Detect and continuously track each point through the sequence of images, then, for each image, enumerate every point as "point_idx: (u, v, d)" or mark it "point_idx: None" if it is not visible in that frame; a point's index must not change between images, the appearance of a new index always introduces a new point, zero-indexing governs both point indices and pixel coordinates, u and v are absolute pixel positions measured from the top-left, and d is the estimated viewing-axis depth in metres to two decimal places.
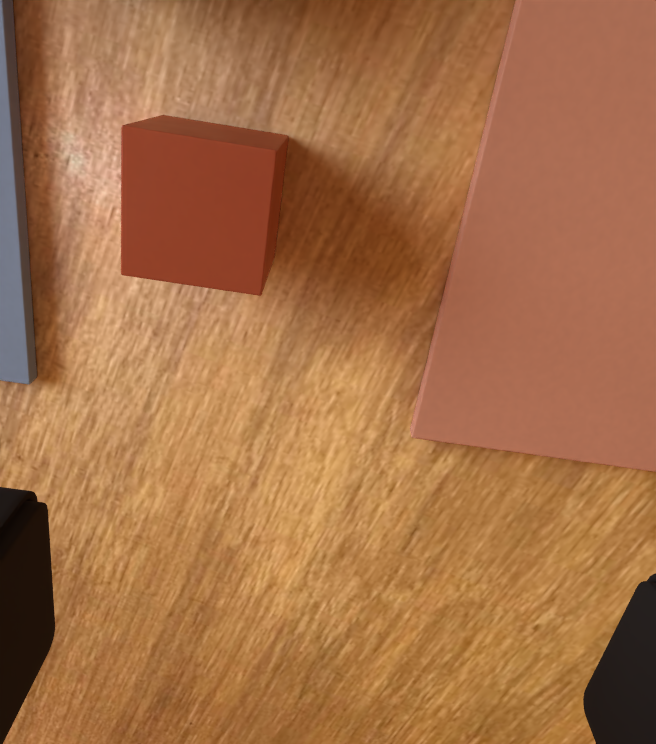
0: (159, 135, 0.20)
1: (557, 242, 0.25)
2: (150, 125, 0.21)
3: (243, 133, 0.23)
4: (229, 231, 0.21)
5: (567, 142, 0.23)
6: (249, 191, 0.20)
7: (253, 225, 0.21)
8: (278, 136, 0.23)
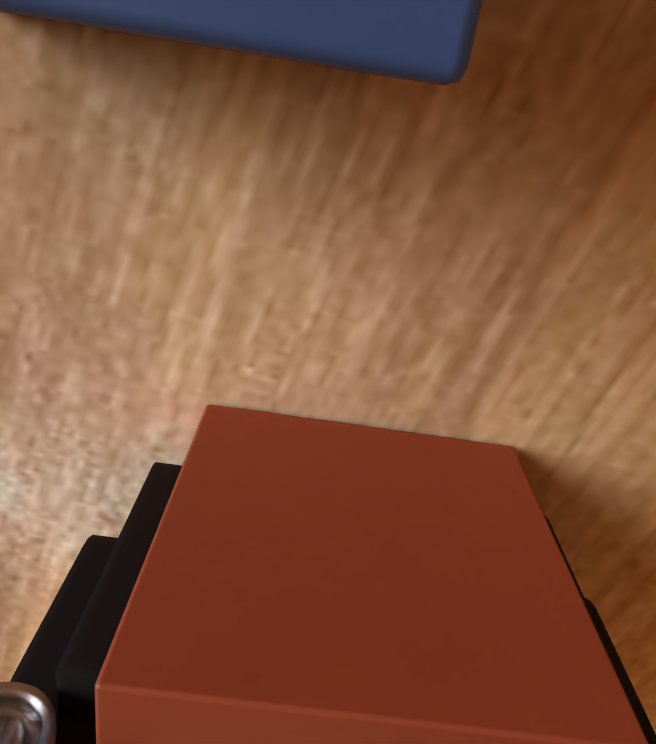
0: (231, 713, 0.05)
1: None
2: (193, 594, 0.06)
3: (438, 507, 0.08)
4: None
5: None
6: None
7: None
8: (509, 478, 0.09)
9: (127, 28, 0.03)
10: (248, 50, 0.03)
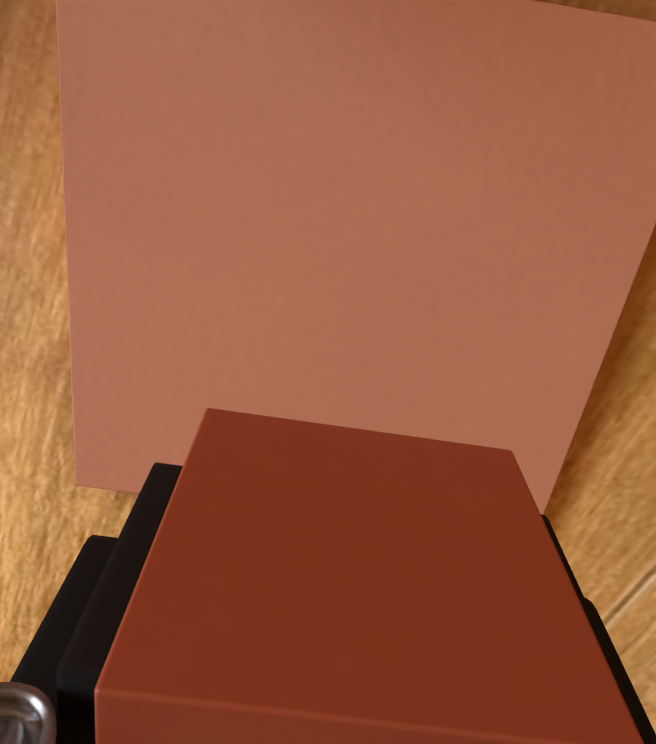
0: (230, 717, 0.05)
1: (176, 270, 0.22)
2: (192, 598, 0.06)
3: (437, 511, 0.08)
4: None
5: (156, 156, 0.20)
6: None
7: None
8: (508, 481, 0.09)
9: None
10: None
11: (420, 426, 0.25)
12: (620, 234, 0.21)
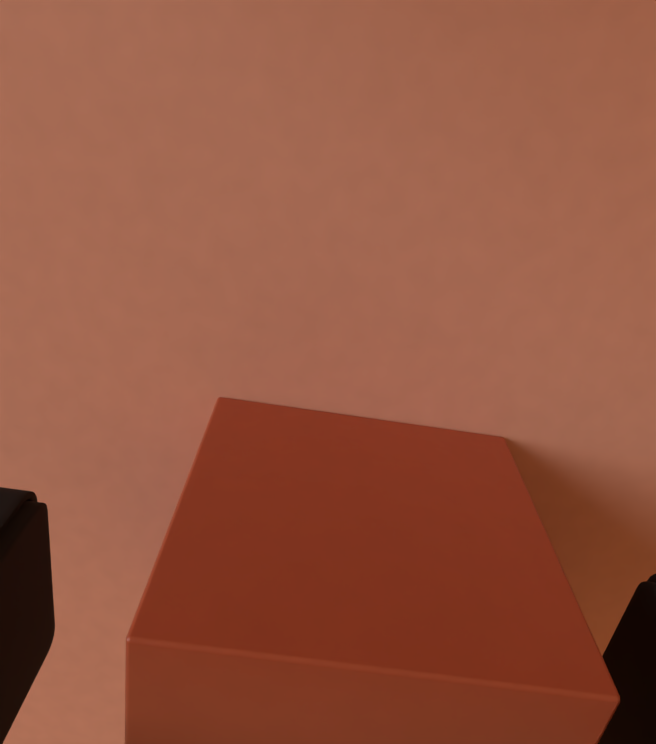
0: (246, 663, 0.06)
1: (11, 473, 0.11)
2: (210, 563, 0.07)
3: (433, 490, 0.09)
4: None
5: None
6: None
7: None
8: (499, 465, 0.10)
9: None
10: None
11: None
12: None
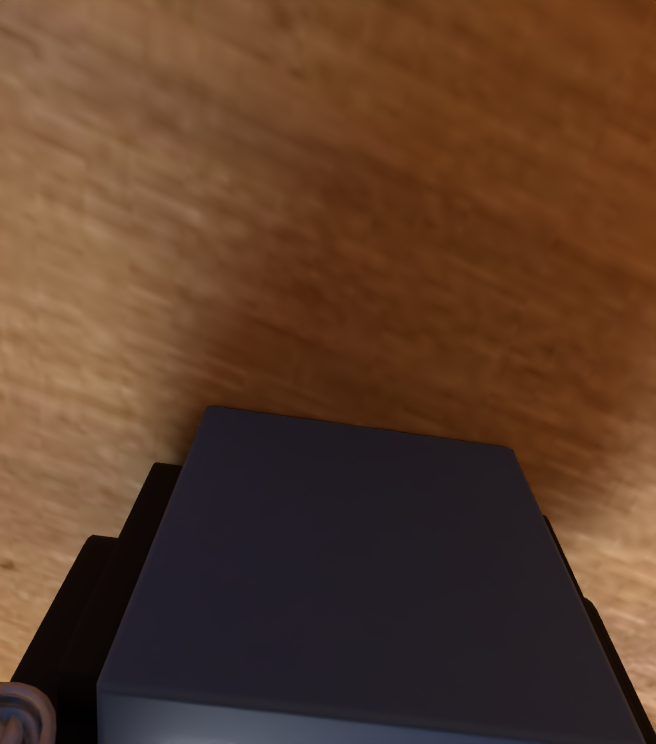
0: None
1: None
2: None
3: None
4: None
5: None
6: None
7: None
8: None
9: None
10: None
11: None
12: None
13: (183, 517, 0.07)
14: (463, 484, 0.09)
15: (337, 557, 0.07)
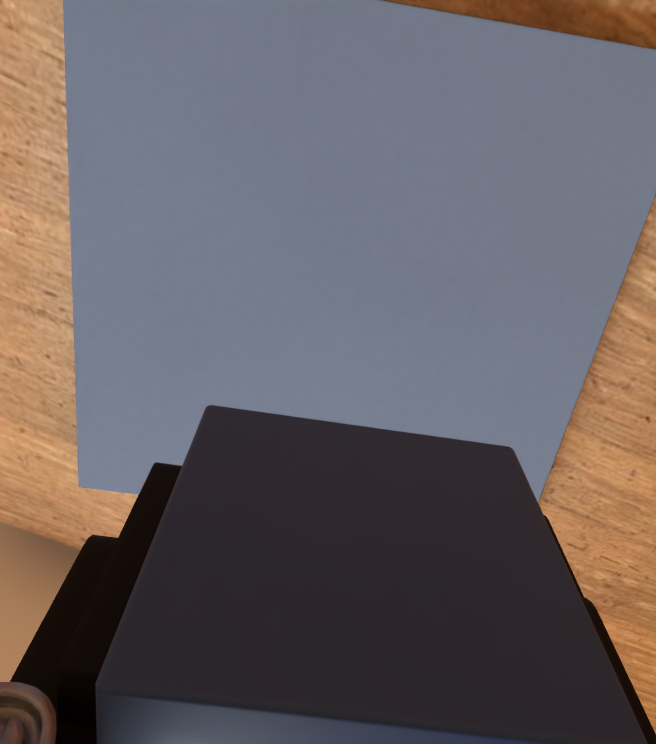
0: None
1: None
2: None
3: None
4: None
5: None
6: None
7: None
8: None
9: None
10: None
11: None
12: None
13: (183, 516, 0.07)
14: (463, 483, 0.09)
15: (337, 557, 0.07)
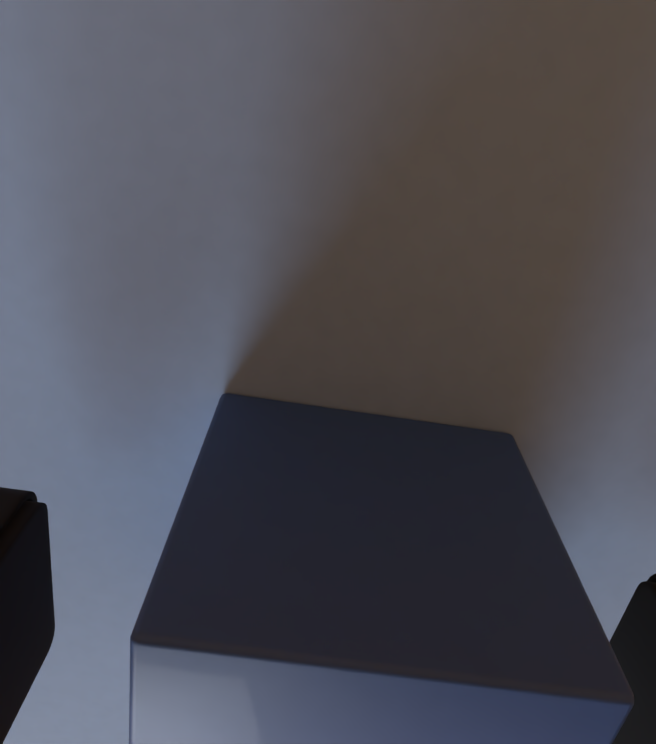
0: None
1: None
2: None
3: None
4: None
5: None
6: None
7: None
8: None
9: None
10: None
11: None
12: None
13: (203, 493, 0.08)
14: (465, 466, 0.09)
15: (348, 530, 0.08)
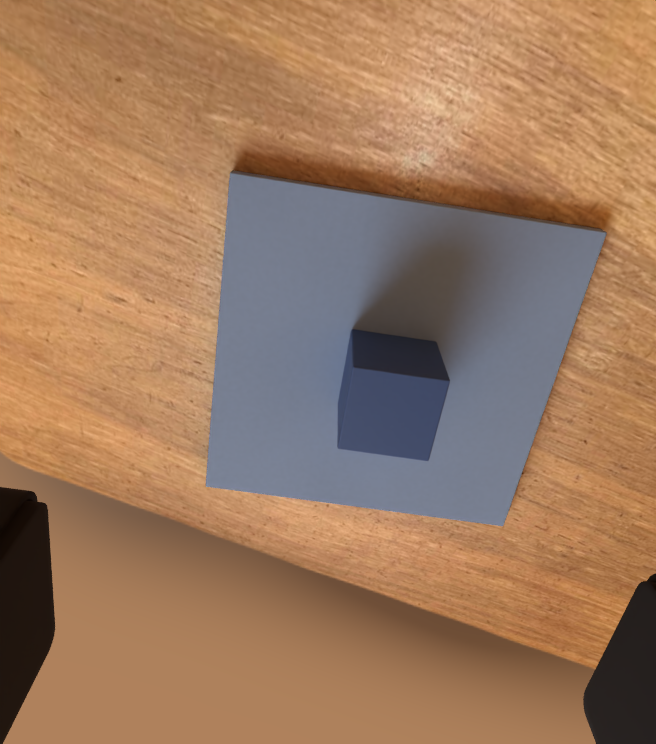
0: None
1: None
2: None
3: None
4: None
5: None
6: None
7: None
8: None
9: (442, 409, 0.32)
10: None
11: None
12: None
13: (356, 348, 0.33)
14: (421, 347, 0.34)
15: (391, 356, 0.32)
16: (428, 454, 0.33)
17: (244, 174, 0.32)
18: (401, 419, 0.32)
